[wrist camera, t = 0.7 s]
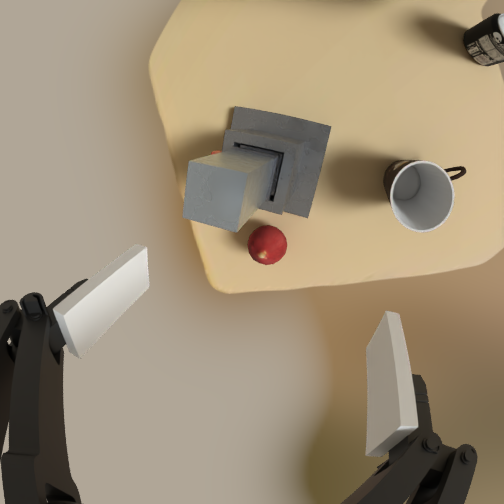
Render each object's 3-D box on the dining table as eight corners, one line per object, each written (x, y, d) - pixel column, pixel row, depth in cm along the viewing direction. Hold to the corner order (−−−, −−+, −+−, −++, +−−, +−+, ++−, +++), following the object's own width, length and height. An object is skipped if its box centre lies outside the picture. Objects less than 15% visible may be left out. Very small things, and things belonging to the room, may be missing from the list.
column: (258, 141, 38) (186, 157, 19) (292, 148, 37) (252, 170, 18) (252, 173, 40) (179, 219, 21) (285, 181, 39) (239, 236, 20)
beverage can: (487, 34, 20) (522, 18, 9) (496, 69, 22) (536, 61, 12) (456, 27, 22) (489, 5, 11) (467, 63, 24) (505, 49, 14)
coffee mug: (376, 208, 39) (388, 232, 30) (375, 152, 36) (389, 158, 27) (443, 210, 36) (469, 233, 27) (445, 155, 32) (475, 165, 24)
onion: (266, 257, 47) (255, 282, 40) (247, 229, 46) (232, 249, 39) (296, 242, 45) (289, 265, 38) (277, 212, 43) (266, 230, 36)
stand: (238, 106, 38) (205, 100, 27) (331, 126, 36) (332, 124, 25) (222, 192, 44) (189, 214, 34) (308, 215, 42) (300, 246, 32)
